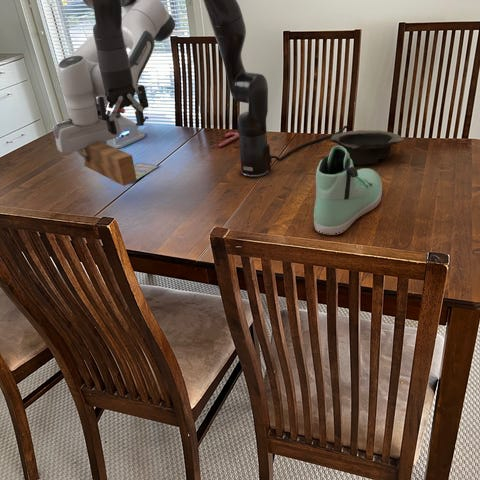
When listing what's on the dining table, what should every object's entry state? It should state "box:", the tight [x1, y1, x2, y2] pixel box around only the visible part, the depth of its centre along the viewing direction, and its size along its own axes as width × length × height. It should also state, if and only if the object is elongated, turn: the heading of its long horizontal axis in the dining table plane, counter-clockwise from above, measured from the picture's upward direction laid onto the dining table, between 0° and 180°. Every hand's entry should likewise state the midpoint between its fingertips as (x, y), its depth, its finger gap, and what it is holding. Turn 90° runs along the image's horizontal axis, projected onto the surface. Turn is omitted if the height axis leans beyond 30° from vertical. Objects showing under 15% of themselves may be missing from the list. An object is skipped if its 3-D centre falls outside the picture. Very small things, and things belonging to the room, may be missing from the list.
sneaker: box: [313, 145, 383, 236], centre depth 133 cm, size 14×35×20 cm, turn 152°
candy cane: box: [218, 131, 239, 148], centre depth 194 cm, size 6×15×2 cm, turn 145°
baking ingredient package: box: [134, 163, 158, 180], centre depth 172 cm, size 9×1×15 cm
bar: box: [82, 142, 138, 187], centre depth 144 cm, size 24×4×8 cm, turn 43°
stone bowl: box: [329, 129, 404, 166], centre depth 169 cm, size 25×25×9 cm
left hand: (94, 158), depth 150 cm, fingers closed on bar, 4 cm apart
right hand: (127, 129), depth 129 cm, fingers open, 8 cm apart
